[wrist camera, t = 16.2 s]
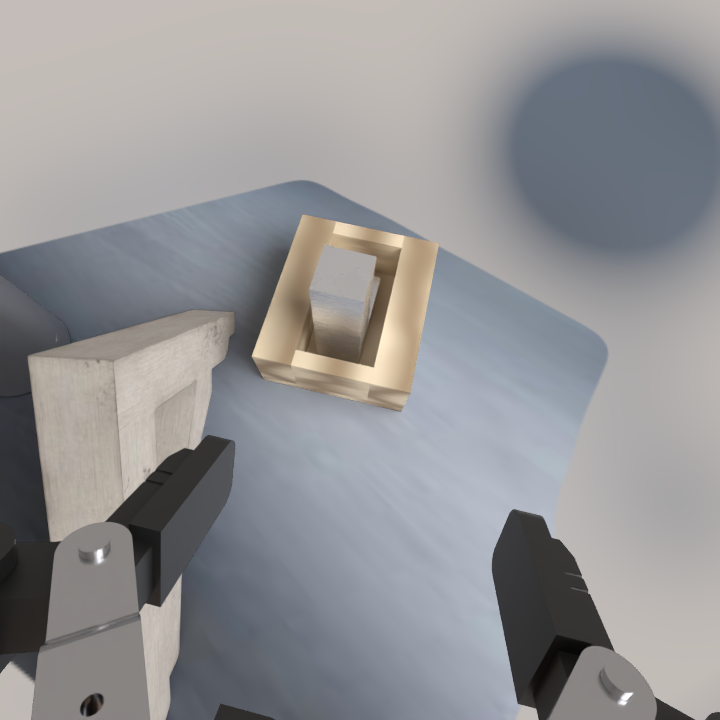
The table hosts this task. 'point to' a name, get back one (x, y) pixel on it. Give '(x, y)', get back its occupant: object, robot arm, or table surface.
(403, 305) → the beech well block
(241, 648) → the table surface
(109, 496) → the grey letter a
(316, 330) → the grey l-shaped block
